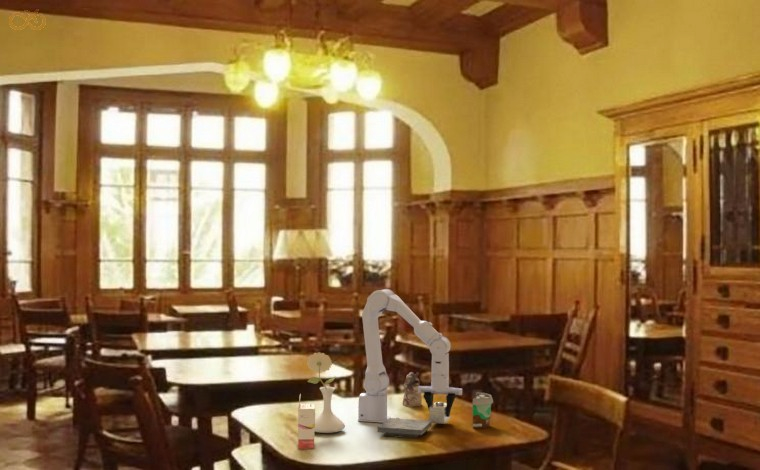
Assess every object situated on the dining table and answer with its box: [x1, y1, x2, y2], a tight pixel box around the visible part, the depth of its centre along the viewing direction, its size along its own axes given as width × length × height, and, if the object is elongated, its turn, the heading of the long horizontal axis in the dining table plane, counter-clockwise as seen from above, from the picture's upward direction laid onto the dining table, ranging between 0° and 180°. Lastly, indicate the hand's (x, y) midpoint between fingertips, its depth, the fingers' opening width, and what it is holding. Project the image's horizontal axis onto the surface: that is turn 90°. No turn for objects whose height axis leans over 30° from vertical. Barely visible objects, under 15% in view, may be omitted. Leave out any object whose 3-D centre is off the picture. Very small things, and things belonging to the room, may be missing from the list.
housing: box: [428, 401, 451, 425], centre depth 279 cm, size 5×9×6 cm, turn 164°
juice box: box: [297, 393, 316, 450], centre depth 250 cm, size 9×5×15 cm, turn 5°
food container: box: [472, 391, 494, 429], centre depth 278 cm, size 12×6×10 cm, turn 168°
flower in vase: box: [305, 351, 346, 434], centre depth 268 cm, size 13×11×25 cm
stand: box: [377, 417, 433, 439], centre depth 266 cm, size 14×14×3 cm
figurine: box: [402, 371, 423, 407], centre depth 313 cm, size 7×7×12 cm
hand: (439, 415), depth 279 cm, fingers closed on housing, 5 cm apart
